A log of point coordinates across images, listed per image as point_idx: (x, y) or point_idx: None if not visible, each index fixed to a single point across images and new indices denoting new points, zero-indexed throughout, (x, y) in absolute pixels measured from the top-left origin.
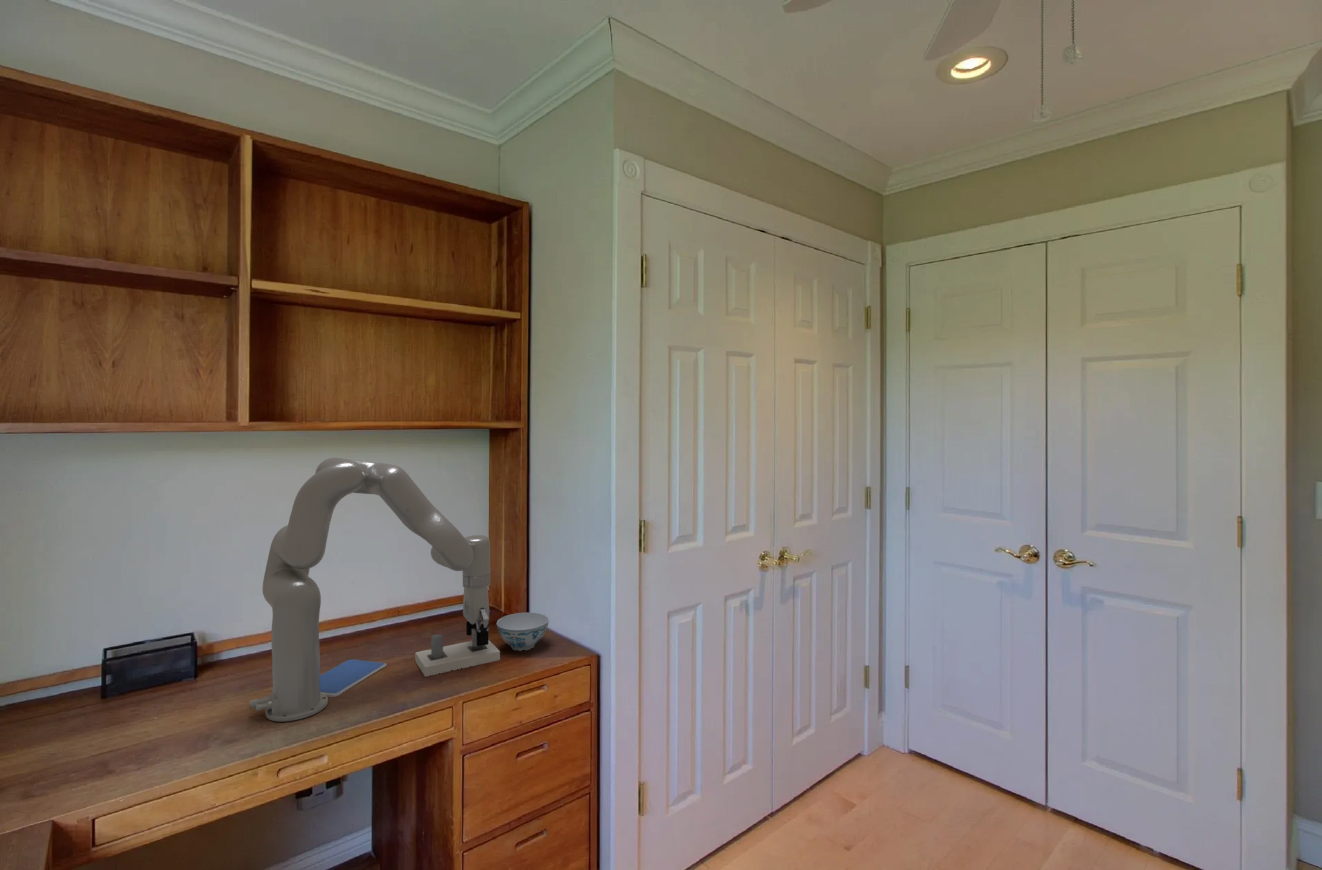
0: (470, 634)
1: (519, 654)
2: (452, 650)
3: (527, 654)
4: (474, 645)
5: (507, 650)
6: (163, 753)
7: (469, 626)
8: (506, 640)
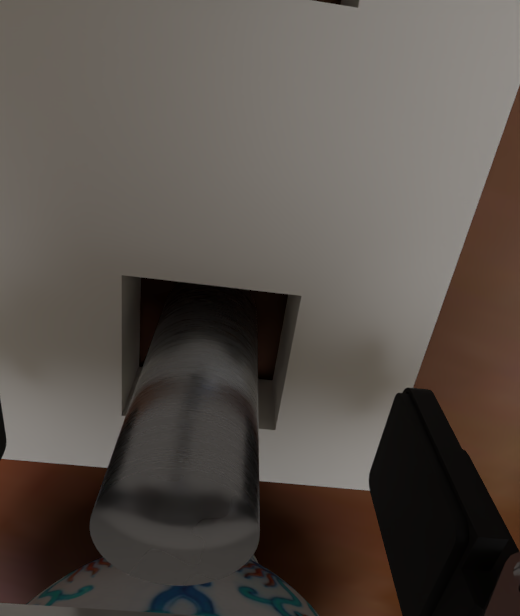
0: (391, 419)
1: (70, 519)
2: (308, 122)
3: (43, 547)
4: (159, 345)
5: None
6: None
7: (425, 496)
8: (109, 568)
